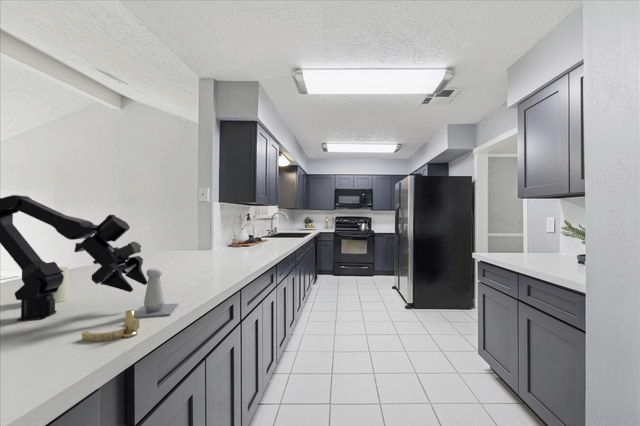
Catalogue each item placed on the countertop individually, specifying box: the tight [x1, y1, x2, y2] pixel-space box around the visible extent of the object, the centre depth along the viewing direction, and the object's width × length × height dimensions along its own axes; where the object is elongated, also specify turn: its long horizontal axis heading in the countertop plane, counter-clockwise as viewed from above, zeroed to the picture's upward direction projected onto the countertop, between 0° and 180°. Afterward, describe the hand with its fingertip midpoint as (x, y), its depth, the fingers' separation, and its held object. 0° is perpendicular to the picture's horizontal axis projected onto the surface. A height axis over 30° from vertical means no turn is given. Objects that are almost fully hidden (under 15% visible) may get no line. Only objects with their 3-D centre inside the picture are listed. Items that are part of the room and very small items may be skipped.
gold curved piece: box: [81, 309, 140, 343], centre depth 73 cm, size 10×12×6 cm
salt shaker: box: [143, 267, 166, 312], centre depth 90 cm, size 6×6×13 cm
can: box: [51, 266, 69, 304], centre depth 103 cm, size 9×9×12 cm
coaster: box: [134, 302, 179, 319], centre depth 90 cm, size 11×11×1 cm
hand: (139, 287), depth 90 cm, fingers open, 9 cm apart
